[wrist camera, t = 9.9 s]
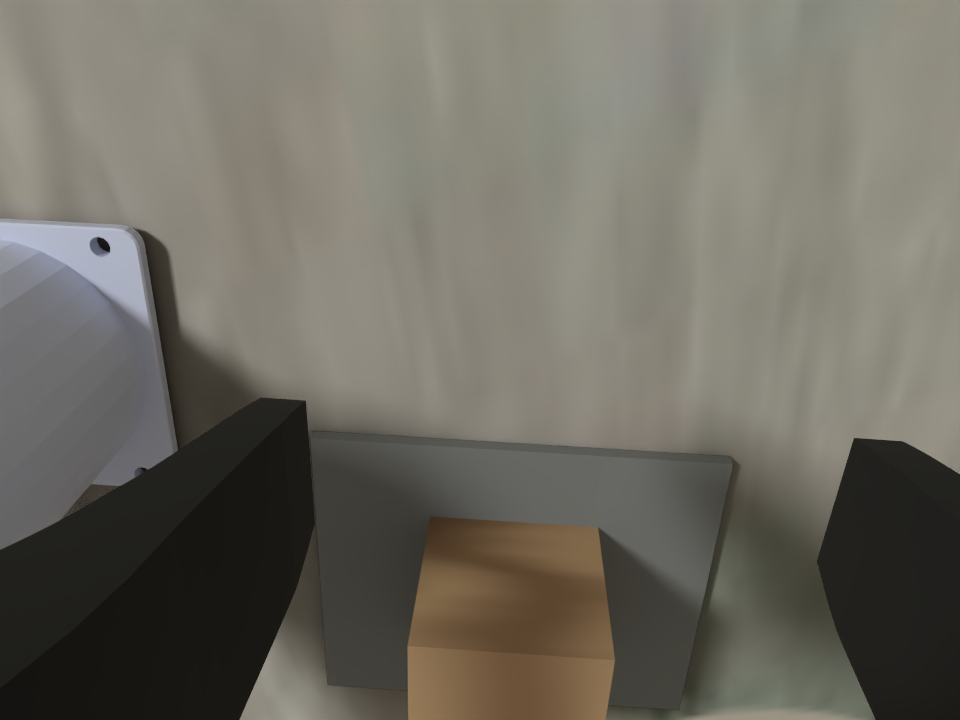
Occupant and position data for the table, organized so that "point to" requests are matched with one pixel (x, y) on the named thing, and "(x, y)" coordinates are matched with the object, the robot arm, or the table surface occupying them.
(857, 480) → the robot arm
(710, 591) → the table surface
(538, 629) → the cube
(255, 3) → the table surface
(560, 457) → the mat
